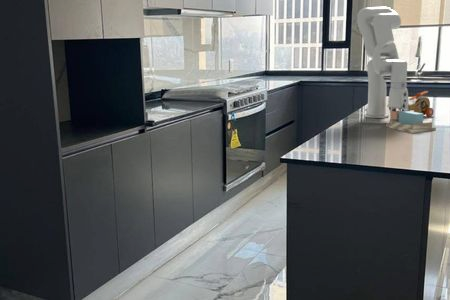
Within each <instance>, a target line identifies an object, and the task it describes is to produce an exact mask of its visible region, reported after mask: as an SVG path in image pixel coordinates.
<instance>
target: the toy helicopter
mask: <svg viewBox="0 0 450 300" xmlns="http://www.w3.org/2000/svg"><path fill="white" fill-rule="evenodd" d="M428 93H429V91H428V90H424V91H421V92H418V93H416V94H415V95H414V96H412V97H409V98H408V101H414V100H415V99H416V101H415V102H414V103H411V104H409V103H408V110H407V111H411V112H412V111H413V112H417V113H422V114H423V116H426V117H429V118H430V117H432V116H433V115H434V109H433V107H430V106H431V103H430V102H431V101H430V98H428V97H427V96H423V95H425V94H428Z"/></svg>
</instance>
